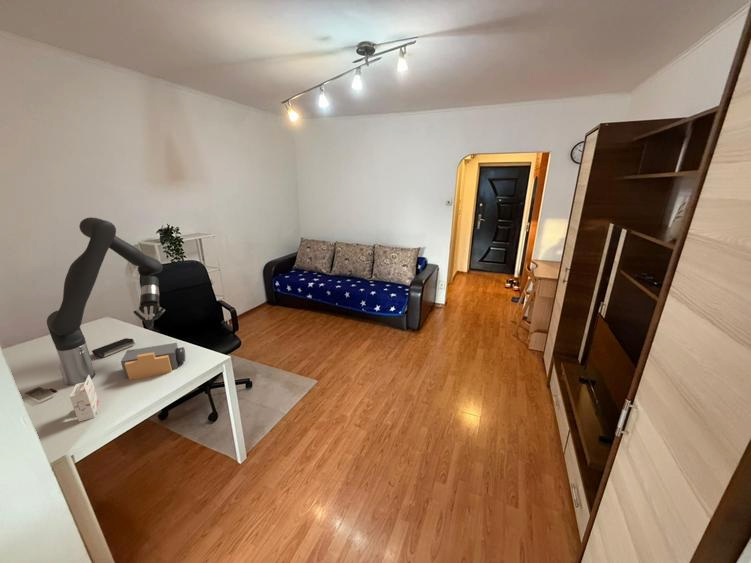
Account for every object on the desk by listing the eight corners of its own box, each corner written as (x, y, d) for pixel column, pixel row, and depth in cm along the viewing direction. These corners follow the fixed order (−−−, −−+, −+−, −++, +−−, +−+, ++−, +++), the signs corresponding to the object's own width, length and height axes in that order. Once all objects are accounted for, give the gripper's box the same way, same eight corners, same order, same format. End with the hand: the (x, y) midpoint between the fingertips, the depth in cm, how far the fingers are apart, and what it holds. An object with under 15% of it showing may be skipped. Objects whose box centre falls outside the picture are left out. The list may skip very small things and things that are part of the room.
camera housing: (125, 380, 135) (120, 361, 131) (131, 368, 143) (127, 350, 140) (184, 369, 144) (181, 351, 141) (186, 358, 153) (183, 341, 150)
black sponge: (101, 360, 149) (99, 353, 148) (92, 355, 152) (90, 349, 151) (137, 345, 163) (135, 339, 162) (128, 342, 166) (126, 336, 165)
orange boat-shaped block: (129, 380, 133) (122, 359, 128) (130, 377, 135) (123, 357, 130) (171, 371, 140) (166, 352, 135) (172, 369, 141) (167, 350, 136)
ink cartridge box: (83, 408, 117) (73, 377, 113) (99, 404, 120) (90, 373, 115) (77, 422, 111) (66, 390, 106) (95, 417, 113) (85, 385, 109)
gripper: (131, 294, 143) (129, 327, 136) (163, 291, 149) (163, 322, 142) (136, 300, 149) (135, 332, 143) (167, 297, 155) (167, 328, 148)
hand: (149, 327), depth 142 cm, fingers closed
